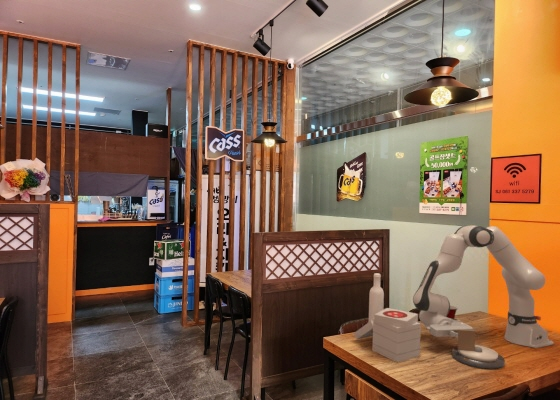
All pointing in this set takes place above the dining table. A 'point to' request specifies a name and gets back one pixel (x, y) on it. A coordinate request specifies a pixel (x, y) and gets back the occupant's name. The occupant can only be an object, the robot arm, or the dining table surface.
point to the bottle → (376, 298)
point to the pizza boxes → (393, 334)
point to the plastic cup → (452, 312)
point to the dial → (474, 347)
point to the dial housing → (478, 364)
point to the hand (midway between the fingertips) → (462, 336)
